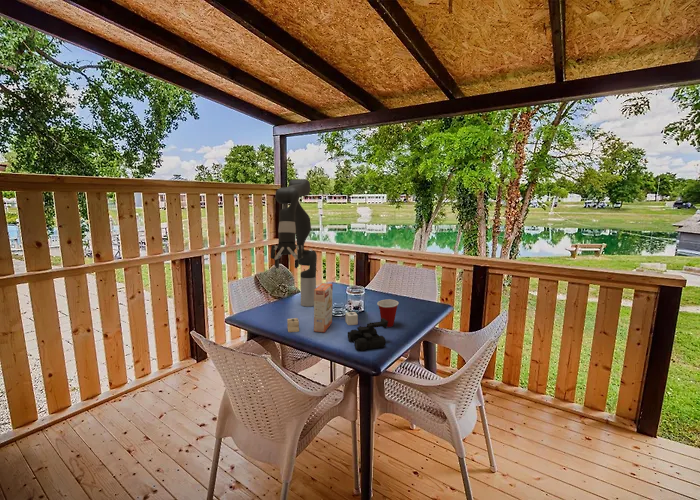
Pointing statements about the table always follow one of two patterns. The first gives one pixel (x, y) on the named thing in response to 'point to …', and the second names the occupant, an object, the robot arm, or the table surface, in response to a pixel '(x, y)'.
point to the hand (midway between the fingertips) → (286, 268)
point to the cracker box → (323, 307)
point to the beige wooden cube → (351, 318)
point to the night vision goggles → (368, 336)
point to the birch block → (293, 325)
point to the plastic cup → (388, 310)
